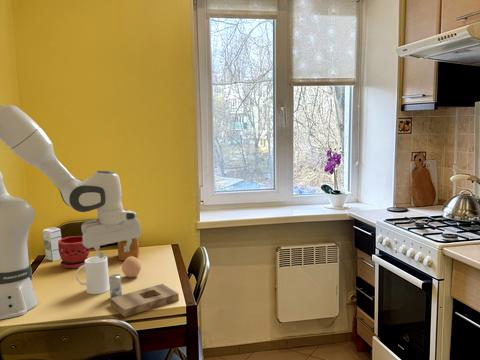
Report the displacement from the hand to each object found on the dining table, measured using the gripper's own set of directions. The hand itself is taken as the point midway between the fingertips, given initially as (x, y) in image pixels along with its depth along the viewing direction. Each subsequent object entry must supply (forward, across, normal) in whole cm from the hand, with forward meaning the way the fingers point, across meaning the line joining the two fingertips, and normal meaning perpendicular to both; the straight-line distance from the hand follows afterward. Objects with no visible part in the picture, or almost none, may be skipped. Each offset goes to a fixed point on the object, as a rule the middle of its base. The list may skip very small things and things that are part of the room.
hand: (114, 254), depth 154 cm
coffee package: (+17, +22, +42) cm, 51 cm away
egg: (+17, +12, +16) cm, 26 cm away
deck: (+16, +5, -11) cm, 20 cm away
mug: (+16, -5, +12) cm, 21 cm away
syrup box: (+16, -6, +63) cm, 65 cm away
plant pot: (+16, -1, +47) cm, 50 cm away
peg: (+16, -1, 0) cm, 16 cm away
